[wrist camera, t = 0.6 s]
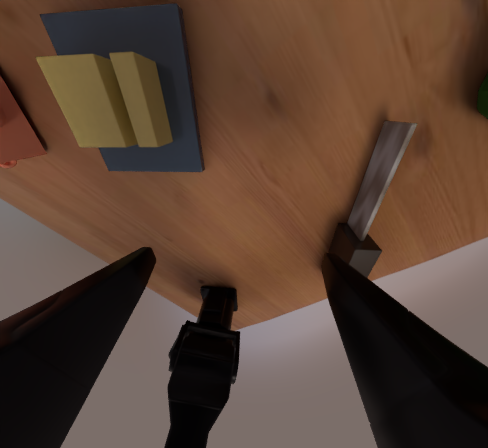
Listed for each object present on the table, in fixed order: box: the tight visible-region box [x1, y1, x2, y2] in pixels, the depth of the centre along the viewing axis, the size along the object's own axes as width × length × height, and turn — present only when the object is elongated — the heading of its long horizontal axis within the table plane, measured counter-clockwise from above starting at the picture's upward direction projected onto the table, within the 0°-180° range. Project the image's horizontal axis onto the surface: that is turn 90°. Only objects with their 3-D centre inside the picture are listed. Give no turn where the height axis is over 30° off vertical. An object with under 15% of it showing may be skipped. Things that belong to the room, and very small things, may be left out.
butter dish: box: [40, 3, 205, 172], centre depth 16 cm, size 12×11×1 cm
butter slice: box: [109, 52, 173, 147], centre depth 15 cm, size 6×2×3 cm, turn 1°
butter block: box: [36, 54, 138, 147], centre depth 15 cm, size 6×4×3 cm
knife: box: [322, 121, 417, 278], centre depth 19 cm, size 20×3×5 cm, turn 1°
